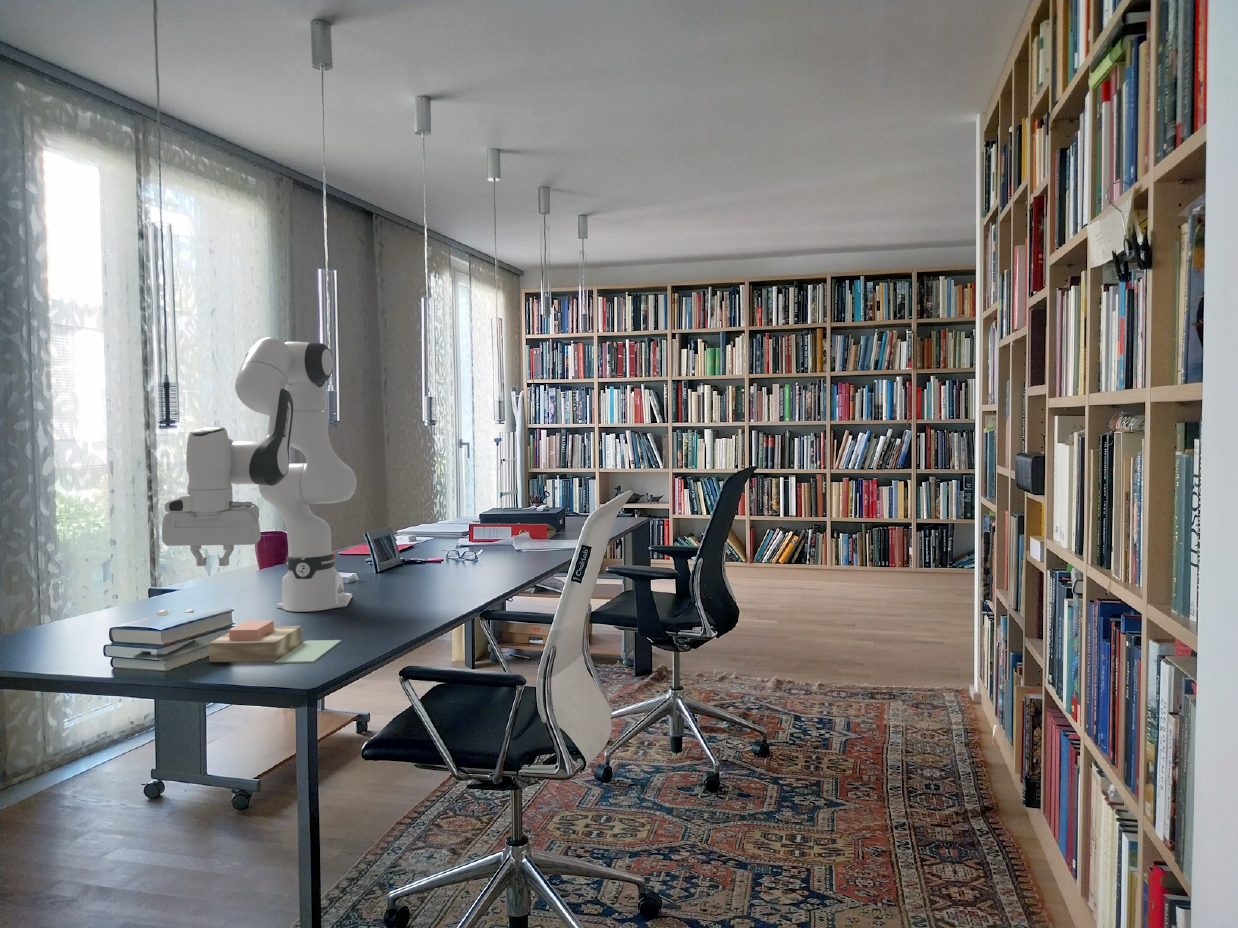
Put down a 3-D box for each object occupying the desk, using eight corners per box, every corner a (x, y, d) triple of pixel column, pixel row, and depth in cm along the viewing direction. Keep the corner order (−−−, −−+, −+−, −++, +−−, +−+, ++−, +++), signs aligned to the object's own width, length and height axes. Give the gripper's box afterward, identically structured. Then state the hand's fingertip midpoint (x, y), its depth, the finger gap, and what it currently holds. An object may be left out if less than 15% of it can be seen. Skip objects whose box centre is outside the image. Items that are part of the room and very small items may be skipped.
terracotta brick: (247, 629, 201) (246, 620, 201) (274, 629, 201) (273, 620, 201) (229, 639, 192) (228, 630, 192) (257, 639, 192) (257, 629, 192)
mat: (306, 641, 205) (306, 640, 205) (341, 641, 205) (341, 639, 205) (275, 662, 187) (275, 661, 187) (313, 662, 187) (313, 661, 187)
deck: (240, 644, 204) (239, 626, 204) (301, 643, 204) (301, 625, 204) (209, 662, 189) (208, 643, 189) (276, 661, 189) (275, 642, 189)
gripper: (264, 500, 198) (266, 562, 199) (171, 501, 198) (174, 564, 199) (252, 502, 192) (254, 567, 192) (156, 504, 192) (159, 568, 193)
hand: (213, 565), depth 196 cm, fingers open, 3 cm apart
